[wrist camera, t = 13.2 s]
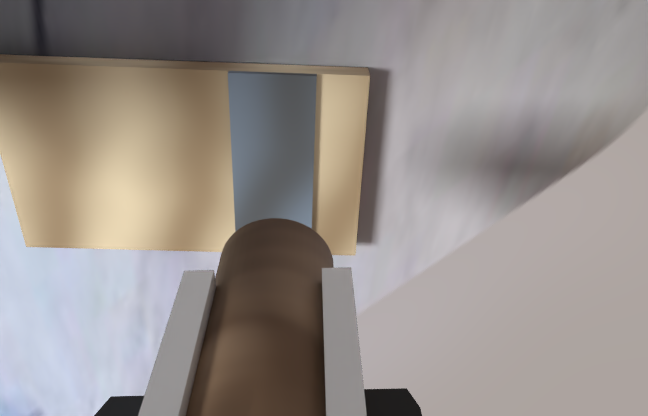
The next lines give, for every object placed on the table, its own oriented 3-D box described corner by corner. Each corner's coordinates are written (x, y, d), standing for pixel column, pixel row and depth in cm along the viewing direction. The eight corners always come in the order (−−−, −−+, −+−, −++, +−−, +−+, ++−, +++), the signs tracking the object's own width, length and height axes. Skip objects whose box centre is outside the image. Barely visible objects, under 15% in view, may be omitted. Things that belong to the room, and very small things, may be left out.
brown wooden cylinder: (226, 310, 18) (145, 707, 9) (214, 219, 16) (100, 605, 7) (333, 307, 18) (351, 702, 9) (333, 217, 16) (354, 599, 7)
